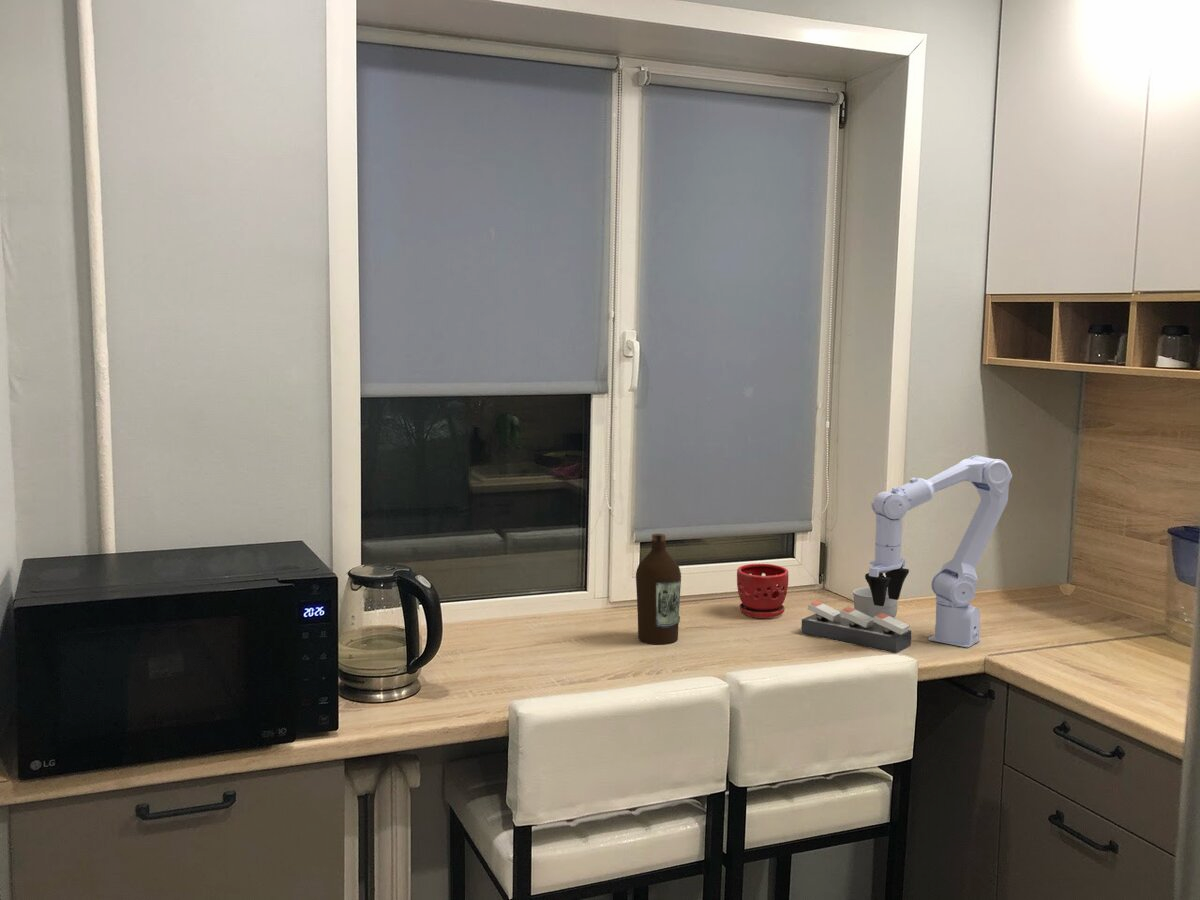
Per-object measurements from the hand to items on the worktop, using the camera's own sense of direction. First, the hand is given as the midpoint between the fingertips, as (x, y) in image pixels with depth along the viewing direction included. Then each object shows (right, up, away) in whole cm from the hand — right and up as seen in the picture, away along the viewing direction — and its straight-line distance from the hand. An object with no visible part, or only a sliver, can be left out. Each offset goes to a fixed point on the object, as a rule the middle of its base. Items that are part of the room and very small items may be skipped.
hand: (886, 602), depth 234 cm
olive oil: (-53, -10, +5) cm, 54 cm away
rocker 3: (0, -6, -1) cm, 6 cm away
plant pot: (-25, -7, +27) cm, 37 cm away
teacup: (+4, -8, +21) cm, 23 cm away
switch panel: (-6, -10, +5) cm, 12 cm away
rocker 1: (-13, -5, +10) cm, 17 cm away
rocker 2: (-6, -5, +4) cm, 9 cm away
